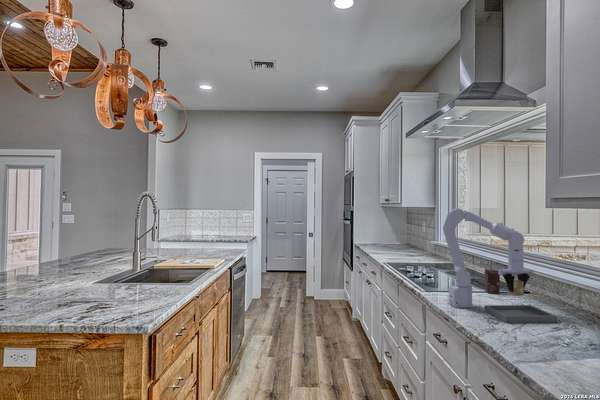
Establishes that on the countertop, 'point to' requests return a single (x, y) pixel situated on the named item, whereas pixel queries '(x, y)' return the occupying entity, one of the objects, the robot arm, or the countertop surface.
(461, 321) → the countertop surface
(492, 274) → the box
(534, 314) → the tray
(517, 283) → the maple block
